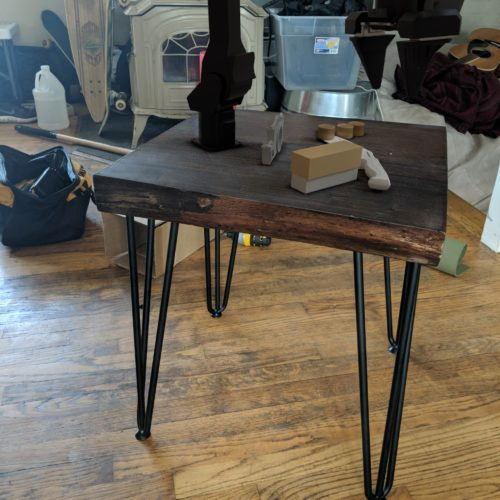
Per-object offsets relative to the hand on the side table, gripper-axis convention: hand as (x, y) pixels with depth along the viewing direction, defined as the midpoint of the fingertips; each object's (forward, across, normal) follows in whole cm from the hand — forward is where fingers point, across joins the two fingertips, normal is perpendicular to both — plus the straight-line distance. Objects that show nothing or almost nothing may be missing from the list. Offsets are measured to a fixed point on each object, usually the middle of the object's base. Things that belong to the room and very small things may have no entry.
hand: (393, 93), depth 69 cm
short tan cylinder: (+11, +22, -3) cm, 25 cm away
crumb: (+11, +23, -6) cm, 26 cm away
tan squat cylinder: (+10, +20, +1) cm, 23 cm away
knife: (+12, +11, +1) cm, 16 cm away
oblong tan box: (+12, +1, +10) cm, 15 cm away
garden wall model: (+10, +15, +13) cm, 22 cm away
